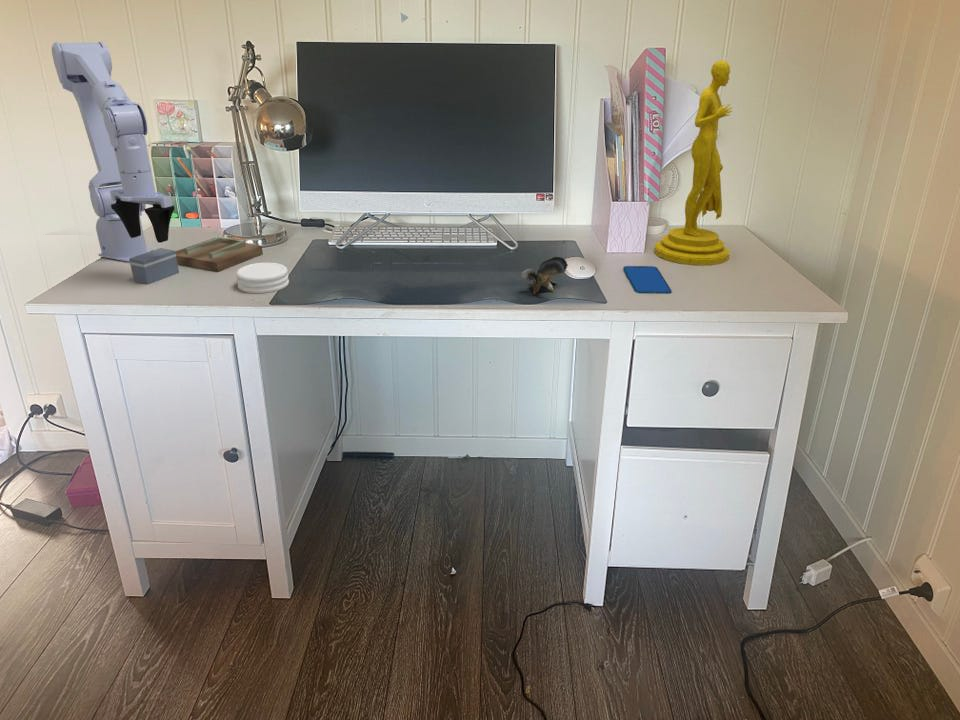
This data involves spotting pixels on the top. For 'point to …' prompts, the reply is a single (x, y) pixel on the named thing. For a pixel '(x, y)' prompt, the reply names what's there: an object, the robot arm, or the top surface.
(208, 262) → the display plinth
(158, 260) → the blue-grey lidded box
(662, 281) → the smartphone
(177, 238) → the top surface
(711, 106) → the statue
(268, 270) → the white short ridged cylinder
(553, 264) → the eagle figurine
